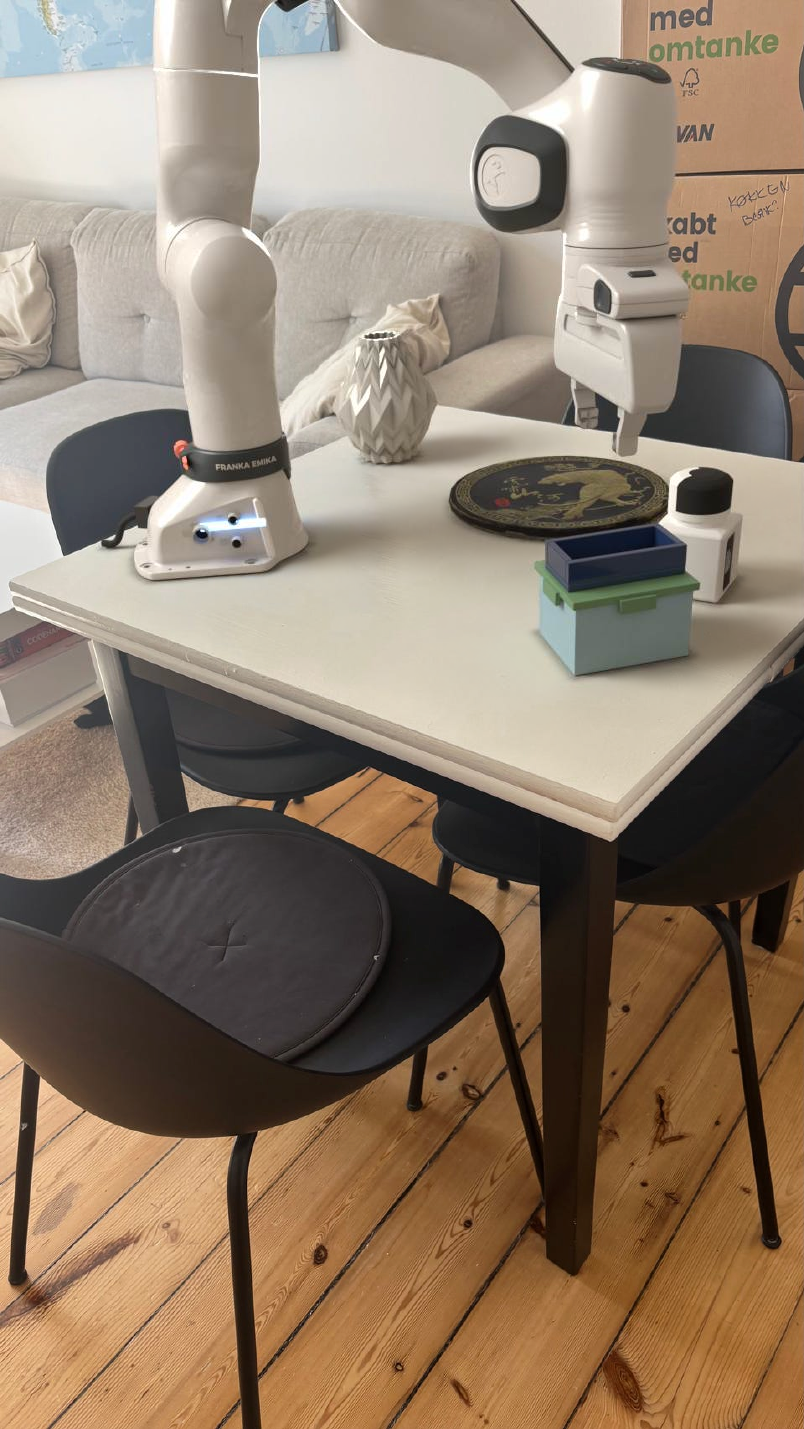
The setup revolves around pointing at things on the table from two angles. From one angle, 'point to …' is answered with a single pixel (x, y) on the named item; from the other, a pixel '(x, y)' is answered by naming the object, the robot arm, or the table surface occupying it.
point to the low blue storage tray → (615, 557)
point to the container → (705, 528)
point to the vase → (384, 399)
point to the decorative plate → (558, 496)
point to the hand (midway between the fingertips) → (604, 440)
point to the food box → (616, 621)
